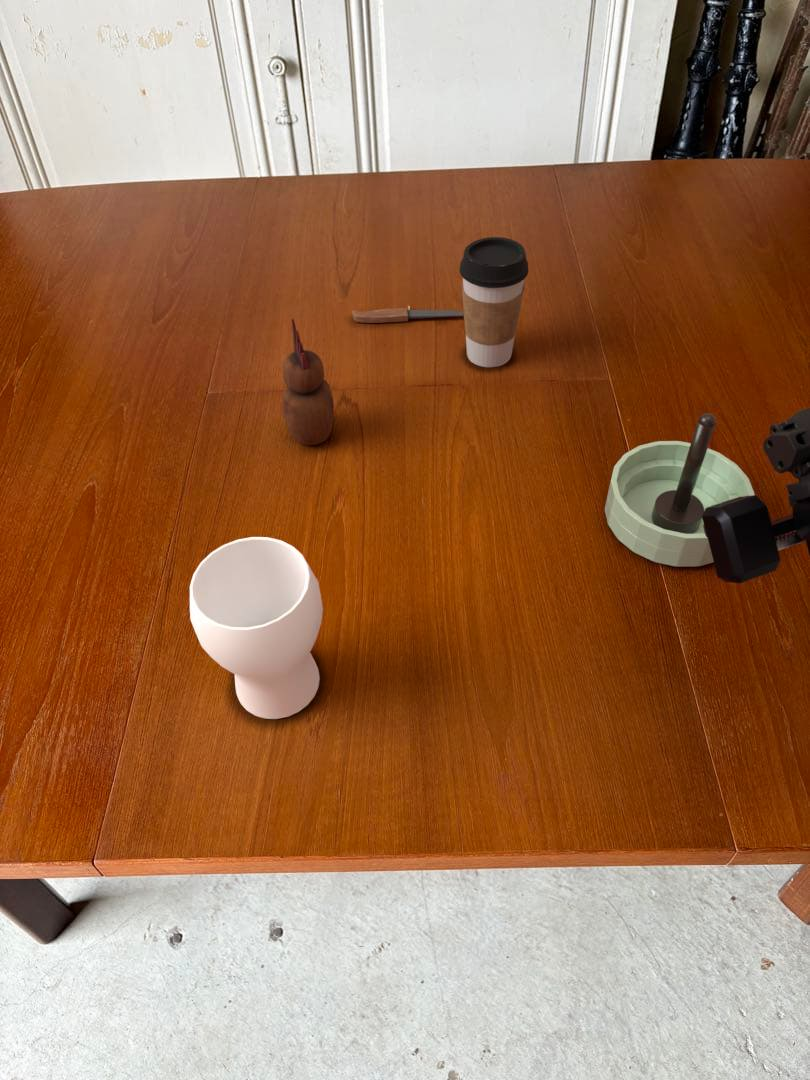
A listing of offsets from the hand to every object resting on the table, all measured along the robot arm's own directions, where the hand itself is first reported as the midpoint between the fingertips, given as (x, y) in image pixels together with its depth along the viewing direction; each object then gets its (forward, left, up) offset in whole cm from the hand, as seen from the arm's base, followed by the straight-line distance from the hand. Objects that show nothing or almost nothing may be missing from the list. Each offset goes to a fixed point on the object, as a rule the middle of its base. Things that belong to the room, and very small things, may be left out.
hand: (748, 515), depth 74 cm
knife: (+56, +14, -10) cm, 59 cm away
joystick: (+9, 0, -10) cm, 13 cm away
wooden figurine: (+36, +33, -10) cm, 50 cm away
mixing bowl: (+9, 0, -10) cm, 14 cm away
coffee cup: (+44, +7, -10) cm, 46 cm away
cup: (+3, +44, -10) cm, 46 cm away
